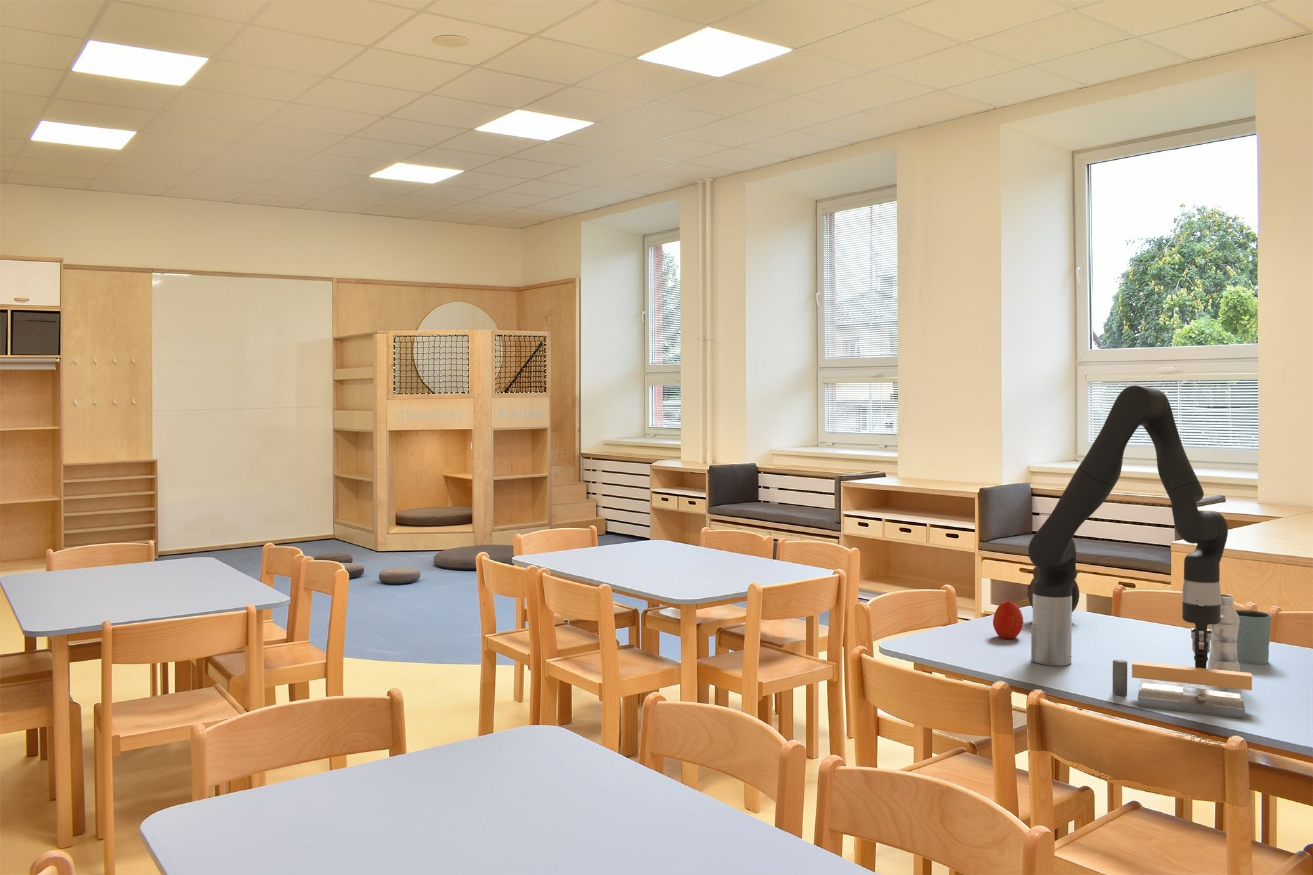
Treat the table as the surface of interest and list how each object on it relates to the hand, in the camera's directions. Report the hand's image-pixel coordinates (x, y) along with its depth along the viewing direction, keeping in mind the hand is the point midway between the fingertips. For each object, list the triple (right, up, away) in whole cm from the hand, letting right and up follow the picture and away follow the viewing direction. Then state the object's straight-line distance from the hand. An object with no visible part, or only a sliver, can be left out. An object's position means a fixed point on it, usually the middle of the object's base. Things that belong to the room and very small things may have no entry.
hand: (1200, 677), depth 226 cm
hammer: (-7, -4, -4) cm, 9 cm away
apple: (-23, -3, +57) cm, 62 cm away
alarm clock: (-2, -2, +79) cm, 79 cm away
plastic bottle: (+12, -4, +13) cm, 18 cm away
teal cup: (+29, -3, +31) cm, 43 cm away
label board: (-5, -4, -5) cm, 8 cm away
